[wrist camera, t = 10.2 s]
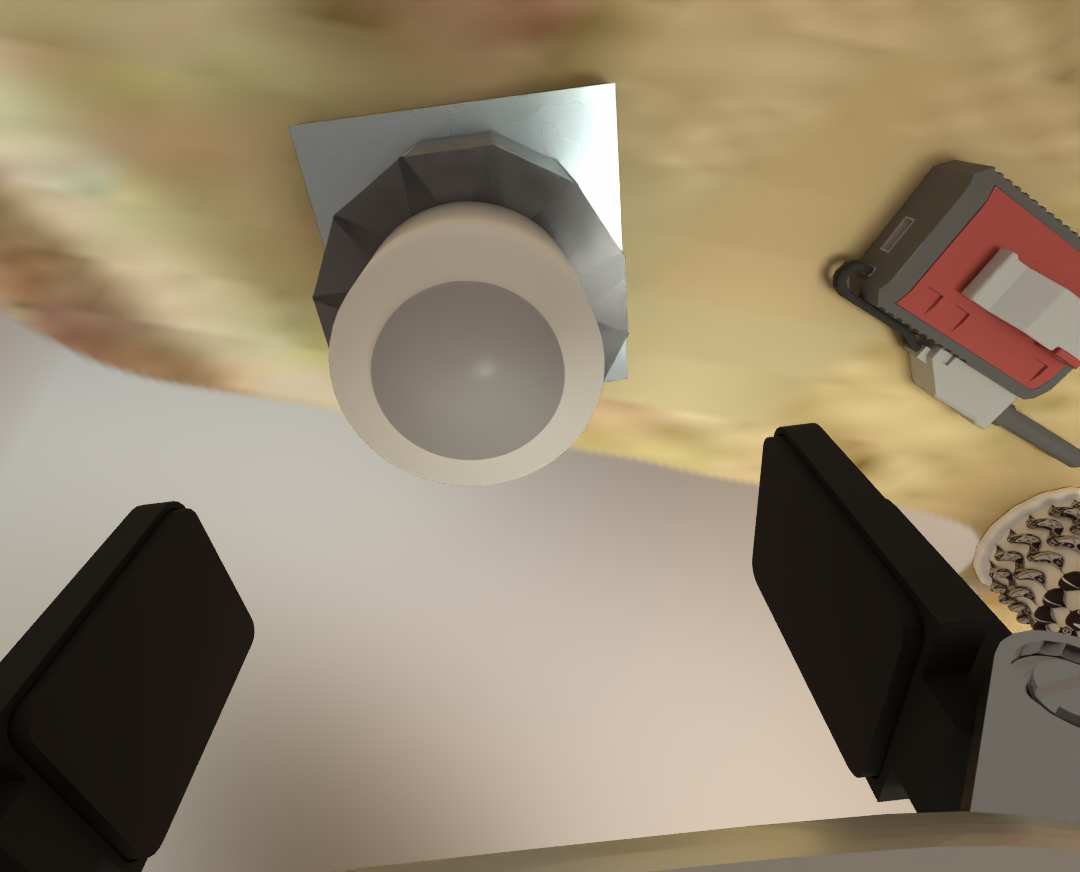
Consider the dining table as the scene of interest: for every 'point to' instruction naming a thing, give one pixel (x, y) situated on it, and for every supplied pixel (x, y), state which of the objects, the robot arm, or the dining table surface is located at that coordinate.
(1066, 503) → the decorative candle
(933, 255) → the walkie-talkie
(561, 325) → the cup
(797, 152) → the dining table surface
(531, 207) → the gray square-based holder
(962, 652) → the robot arm
